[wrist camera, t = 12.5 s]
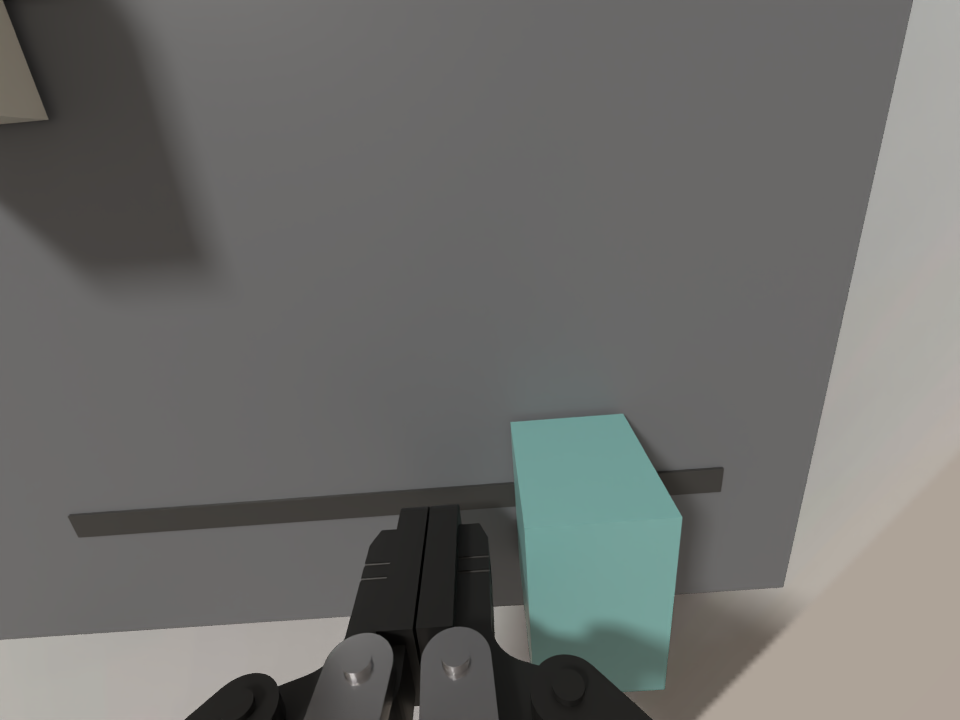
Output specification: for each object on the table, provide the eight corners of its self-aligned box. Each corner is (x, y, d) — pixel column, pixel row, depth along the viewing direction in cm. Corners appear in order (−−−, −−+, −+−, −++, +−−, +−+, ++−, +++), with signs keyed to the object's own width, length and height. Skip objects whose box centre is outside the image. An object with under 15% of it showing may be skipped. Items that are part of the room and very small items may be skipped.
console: (873, -330, 10) (1034, -526, 7) (736, 522, 18) (784, 589, 16) (-354, -197, 10) (-662, -328, 8) (67, 569, 19) (-5, 642, 16)
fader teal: (623, 413, 13) (682, 517, 9) (617, 556, 15) (664, 689, 11) (510, 422, 13) (524, 528, 9) (519, 563, 15) (534, 697, 11)
